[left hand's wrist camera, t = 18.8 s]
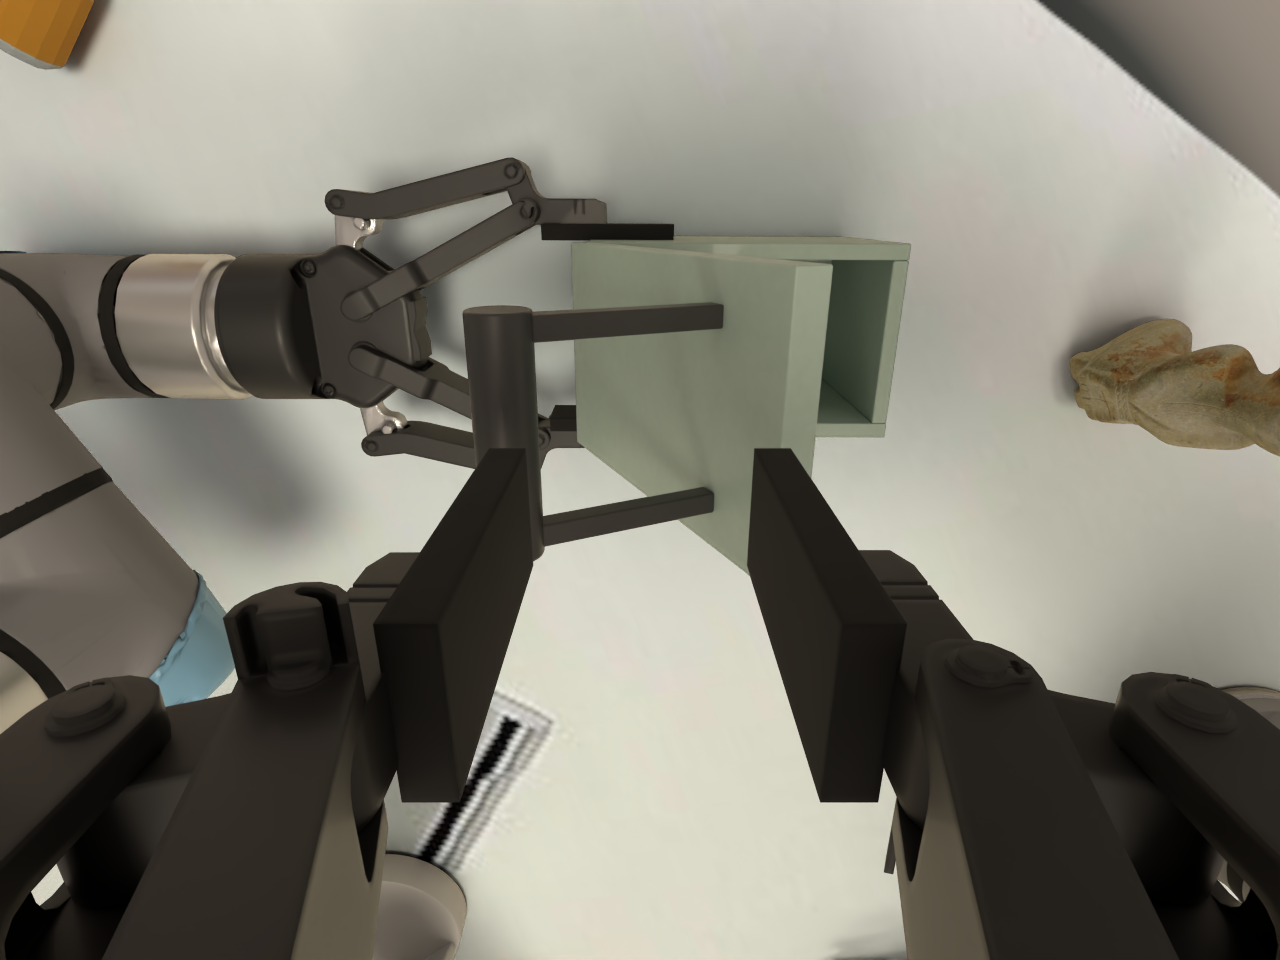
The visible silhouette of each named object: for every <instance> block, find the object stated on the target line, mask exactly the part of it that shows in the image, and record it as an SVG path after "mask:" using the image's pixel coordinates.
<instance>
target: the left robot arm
mask: <svg viewBox="0 0 1280 960" xmlns="http://www.w3.org/2000/svg"><path fill="white" fill-rule="evenodd" d="M532 567H533V555H532V539H531V523H530V507H529V492H528V476H527V460H526V448H489V449H488V451H487V452H486V454H485V455H484V457H483V458H482V460H481V461H480V463H479V464H478V466H477V467H476V469H475V470H474V472H473V473H472V475H471V476H470V478H469V479H468V481H467V482H466V484H465V486H464V487H463V489H462V490H461V492H460V493H459V495H458V496H457V498H456V499H455V501H454V502H453V504H452V505H451V507H450V508H449V510H448V511H447V513H446V514H445V516H444V517H443V519H442V520H441V522H440V523H439V525H438V526H437V528H436V529H435V531H434V532H433V534H432V535H431V537H430V538H429V540H428V541H427V543H426V544H425V546H424V547H423V549H422V550H421V552H420V553H389V554H387V555H386V556H384V557H382V558H381V559H379V560H377V561H376V562H374V563H373V564H371V565H369V566H368V567H366V568H365V570H364V571H363V572H362V574H361V575H360V576H359V577H358V579H357V580H356V581H355V582H354V584H353V588H350V589H349V590H348V591H347V592H346V591H344V590H343V589H342V588H340V587H339V586H337V585H332V584H328V583H323V582H299V583H294V584H289V585H284V586H278V587H275V588H272V589H269V590H266V591H263V592H260V593H258V594H255V595H253V596H251V597H249V598H247V599H246V600H244V601H242V602H240V603H239V604H237V605H235V606H234V607H233V608H232V609H231V610H230V611H229V612H228V613H227V614H226V615H225V616H224V617H223V621H224V625H225V629H226V633H227V637H228V641H229V645H230V649H231V653H232V657H233V661H234V665H235V669H236V673H237V677H238V681H237V683H236V685H235V687H234V689H233V691H232V693H230V694H226V695H222V696H218V697H213V698H208V699H203V700H198V701H192V702H187V703H182V704H177V705H172V706H167V707H165V704H164V701H163V697H162V694H161V691H160V688H159V685H157V684H156V683H155V682H153V681H152V680H151V679H149V678H146V677H139V676H132V675H127V676H118V677H109V678H108V677H107V678H101V679H96V680H93V681H92V682H89V681H88V682H85V683H82V684H79V685H76V686H74V687H72V688H70V689H69V690H67V691H65V692H62V693H60V694H58V695H56V696H53V697H51V698H49V699H48V700H46V701H45V702H43V703H41V704H40V705H38V706H37V707H35V708H34V709H32V710H31V711H29V712H28V713H26V714H25V715H24V716H22V717H21V718H20V719H19V720H17V721H16V722H15V723H14V724H12V725H11V726H10V727H9V728H7V729H6V730H5V731H4V732H2V733H1V734H0V960H372V959H373V951H374V942H375V934H376V926H377V917H378V909H379V901H380V893H381V884H382V876H383V868H384V860H385V851H386V843H387V835H388V823H387V816H386V810H385V804H384V797H385V795H386V793H387V790H388V788H389V786H390V784H391V781H392V779H393V777H394V775H395V772H396V770H397V775H398V781H399V787H400V794H401V800H402V802H460V800H461V796H462V793H463V790H464V787H465V784H466V780H467V777H468V774H469V771H470V767H471V764H472V761H473V758H474V754H475V751H476V748H477V745H478V742H479V738H480V735H481V732H482V729H483V725H484V722H485V719H486V716H487V713H488V709H489V706H490V703H491V700H492V696H493V693H494V690H495V687H496V684H497V680H498V677H499V674H500V671H501V667H502V664H503V661H504V658H505V655H506V651H507V648H508V645H509V642H510V638H511V635H512V632H513V629H514V625H515V622H516V619H517V616H518V613H519V609H520V606H521V603H522V600H523V596H524V593H525V590H526V587H527V584H528V580H529V577H530V574H531V571H532ZM747 567H748V571H749V574H750V577H751V580H752V584H753V587H754V590H755V593H756V596H757V600H758V603H759V606H760V609H761V613H762V616H763V619H764V622H765V625H766V629H767V632H768V635H769V638H770V642H771V645H772V648H773V651H774V655H775V658H776V661H777V664H778V667H779V671H780V674H781V677H782V680H783V684H784V687H785V690H786V693H787V696H788V700H789V703H790V706H791V709H792V713H793V716H794V719H795V722H796V725H797V729H798V732H799V735H800V738H801V742H802V745H803V748H804V751H805V754H806V758H807V761H808V764H809V767H810V771H811V774H812V777H813V780H814V784H815V787H816V790H817V793H818V796H819V800H820V802H878V800H879V794H880V787H881V781H882V775H883V769H885V771H886V774H887V776H888V778H889V780H890V782H891V785H892V787H893V789H894V791H895V794H896V796H897V798H896V804H895V810H894V815H893V821H892V827H891V832H890V838H889V844H888V850H887V855H886V862H885V868H884V872H885V873H890V874H893V872H894V867H895V862H896V866H897V874H898V883H899V891H900V899H901V907H902V916H903V924H904V932H905V940H906V949H907V957H908V960H1280V692H1277V691H1274V690H1270V689H1265V688H1257V687H1237V688H1228V689H1223V690H1219V689H1217V688H1215V687H1213V686H1211V685H1210V684H1208V683H1206V682H1203V681H1200V680H1197V679H1194V678H1192V679H1189V677H1186V676H1181V675H1176V674H1164V673H1155V672H1148V673H1141V674H1134V675H1131V676H1130V677H1129V678H1127V679H1126V680H1125V681H1123V682H1122V684H1121V688H1120V691H1119V694H1118V697H1117V701H1116V704H1114V703H1108V702H1103V701H1098V700H1093V699H1088V698H1083V697H1078V696H1073V695H1068V694H1063V693H1059V692H1055V691H1051V690H1047V688H1046V686H1045V684H1044V682H1043V680H1042V678H1041V677H1040V676H1039V674H1038V673H1037V672H1036V671H1035V669H1034V668H1033V667H1032V666H1031V665H1030V664H1029V663H1027V662H1026V661H1024V660H1023V659H1021V658H1020V657H1018V656H1017V655H1015V654H1014V653H1012V652H1010V651H1007V650H1005V649H1002V648H1000V647H998V646H995V645H993V644H989V643H985V642H980V641H976V640H973V639H972V637H971V636H970V635H969V634H968V632H967V631H966V630H965V629H964V627H963V626H962V625H961V623H960V622H959V621H958V620H957V618H956V617H955V616H954V615H953V613H952V612H951V611H950V610H949V608H948V607H947V606H946V605H945V603H944V602H943V601H942V600H939V596H938V595H937V593H936V592H935V591H934V590H933V588H932V587H931V586H930V585H928V584H927V581H926V580H925V578H924V577H923V576H922V574H921V573H920V572H919V571H918V569H917V568H916V567H915V566H914V565H913V564H912V563H910V562H908V561H907V560H905V559H903V558H902V557H900V556H898V555H897V554H895V553H893V552H892V551H890V550H858V549H857V547H856V546H855V544H854V543H853V541H852V540H851V538H850V537H849V535H848V534H847V532H846V531H845V529H844V528H843V526H842V525H841V523H840V522H839V520H838V519H837V517H836V516H835V514H834V513H833V511H832V510H831V508H830V507H829V505H828V504H827V502H826V501H825V499H824V498H823V496H822V495H821V493H820V492H819V490H818V489H817V487H816V486H815V484H814V482H813V481H812V479H811V478H810V476H809V475H808V473H807V472H806V470H805V469H804V467H803V466H802V464H801V463H800V461H799V460H798V458H797V457H796V455H795V454H794V452H793V451H792V449H791V448H754V460H753V476H752V492H751V507H750V523H749V539H748V555H747ZM56 863H57V866H58V868H59V871H60V873H61V875H62V878H63V880H64V883H63V884H62V885H61V886H60V887H59V888H58V890H57V891H56V892H55V893H54V894H53V895H52V896H51V897H50V898H49V899H48V900H46V901H45V902H44V903H43V904H42V905H40V906H39V905H38V904H37V903H36V902H35V900H34V897H33V895H32V893H31V891H32V890H33V889H34V888H35V887H36V885H37V884H38V883H39V882H40V881H41V880H42V879H43V878H44V877H45V875H46V874H47V873H48V872H49V871H50V870H51V869H52V868H53V867H54V866H55V864H56ZM1217 879H1218V880H1219V881H1221V882H1222V883H1223V884H1225V885H1226V886H1227V887H1228V888H1229V889H1230V890H1231V891H1232V892H1233V893H1234V894H1235V895H1236V896H1237V897H1238V899H1239V900H1240V901H1241V902H1242V903H1240V902H1239V901H1237V900H1236V899H1235V898H1234V897H1233V896H1232V895H1231V894H1230V893H1229V892H1228V891H1227V890H1226V889H1225V888H1224V887H1223V885H1222V884H1221V883H1220V882H1219V881H1218V880H1217Z"/></svg>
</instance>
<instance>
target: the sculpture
mask: <svg viewBox="0 0 1280 960" xmlns="http://www.w3.org/2000/svg"><path fill="white" fill-rule="evenodd" d="M1191 347H1192V333H1191V331H1190V329H1189V328H1188V327H1187V326H1186V325H1185V324H1183V323H1182V322H1180V321H1178V320H1175V319H1160V320H1155V321H1150V322H1147V323H1144V324H1142V325H1139V326H1137V327H1135V328H1133V329H1131V330H1129V331H1127V332H1125V333H1123V334H1122V335H1120V336H1118V337H1116V338H1114V339H1113V340H1111V341H1110V342H1108V343H1107V344H1105V345H1103V346H1101V347H1099V348H1097V349H1095V350H1092V351H1089V352H1080V353H1078V354H1076V355H1074V356H1073V357H1072V358H1071V359H1070V372H1071V376H1072V378H1074V379H1075V380H1076V381H1077V382H1078V384H1079V387H1078V388H1077V389H1076V390H1075V391H1074V395H1075V398H1076V401H1077V404H1078V406H1079V407H1080V408H1083V409H1085V411H1086V413H1087V415H1088V417H1089V418H1091V419H1093V420H1098V421H1100V422H1107V423H1118V424H1136V425H1139V426H1141V427H1142V428H1144V429H1145V430H1147V431H1148V432H1150V433H1151V434H1152V435H1154V436H1155V437H1157V438H1158V439H1159V440H1161V441H1163V442H1165V443H1167V444H1170V445H1174V446H1181V447H1192V448H1204V449H1220V450H1236V449H1241V448H1245V447H1248V446H1250V445H1252V444H1254V443H1255V444H1257V445H1258V446H1260V447H1261V448H1263V449H1265V450H1267V451H1269V452H1271V453H1273V454H1275V455H1278V456H1280V368H1279V369H1278V370H1277V371H1275V372H1274V373H1272V374H1267V375H1266V374H1262V373H1261V372H1260V371H1259V370H1258V368H1257V366H1256V364H1255V362H1254V359H1253V357H1252V355H1251V354H1250V353H1249V351H1248V350H1246V349H1245V348H1243V347H1241V346H1238V345H1231V344H1230V345H1219V346H1213V347H1208V348H1204V349H1201V350H1197V351H1194V352H1191Z"/></svg>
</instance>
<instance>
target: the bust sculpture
mask: <svg viewBox="0 0 1280 960" xmlns="http://www.w3.org/2000/svg"><path fill="white" fill-rule="evenodd" d="M466 913H467V908H466V902H465V898H464V896H463V893H462V891H461V890H460V888H459V887H458V885H457V884H456V883H455V882H454V880H453V879H452V878H451V877H449V876H448V875H447V874H446V873H445V872H443V871H442V870H440V869H439V868H437V867H435V866H433V865H432V864H429V863H427V862H425V861H422V860H419V859H416V858H413V857H409V856H403V855H395V854H385V860H384V868H383V876H382V884H381V893H380V901H379V909H378V917H377V926H376V934H375V942H374V951H373V959H372V960H454V956H455V954H456V952H457V950H458V947H459V943H460V939H461V935H462V931H463V927H464V923H465V919H466Z"/></svg>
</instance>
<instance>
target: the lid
mask: <svg viewBox="0 0 1280 960" xmlns="http://www.w3.org/2000/svg"><path fill="white" fill-rule="evenodd" d="M571 249H572V283H573V310H560V311H542V312H532V310H531V309H529V308H527V307H521V306H481V307H473V308H468V309H466V310H464V311H463V324H464V336H465V347H466V358H467V370H468V381H469V393H470V404H471V415H472V427H473V438H474V449H475V461H476V467H477V466H478V464H479V463H480V461H481V460H482V458H483V457H484V455H485V454H486V452H487V451H488V449H489V448H526V460H527V476H528V492H529V507H530V523H531V539H532V555H533V561H535V560H537V559H538V558H540V557H541V556H542V554H543V552H544V546H549V545H554V544H559V543H564V542H569V541H574V540H579V539H584V538H589V537H594V536H599V535H603V534H608V533H613V532H618V531H623V530H628V529H633V528H638V527H643V526H648V525H653V524H658V523H662V522H667V521H672V520H679V521H680V522H681V523H683V524H684V525H685V526H686V527H688V528H689V529H690V530H692V531H693V532H694V533H695V534H697V535H698V536H699V537H701V538H702V539H703V540H704V541H706V542H707V543H708V544H710V545H711V546H712V547H713V548H715V549H716V550H717V551H719V552H720V553H721V554H722V555H724V556H725V557H726V558H728V559H729V560H730V561H731V562H733V563H734V564H735V565H737V566H738V567H739V568H740V569H742V570H743V571H744V572H746V573H747V574H748V575H749V576H750V574H749V571H748V567H747V555H748V539H749V523H750V507H751V492H752V476H753V460H754V448H791V449H792V451H793V452H794V454H795V455H796V457H797V458H798V460H799V461H800V463H801V464H802V466H803V467H804V469H805V470H806V472H807V473H808V475H809V476H810V478H811V476H812V466H813V456H814V446H815V437H816V427H817V417H818V408H819V398H820V388H821V378H822V369H823V359H824V349H825V340H826V330H827V320H828V310H829V301H830V291H831V281H832V272H833V265H831V264H824V263H813V262H802V261H791V260H780V259H769V258H758V257H747V256H736V255H725V254H715V253H704V252H693V251H682V250H671V249H660V248H649V247H638V246H627V245H616V244H606V243H572V244H571ZM563 340H574V350H575V383H576V416H577V442H578V443H580V444H581V445H582V446H584V447H585V448H586V449H587V450H589V451H590V452H591V453H593V454H594V455H595V456H596V457H598V458H599V459H600V460H602V461H603V462H604V463H605V464H607V465H608V466H609V467H611V468H612V469H613V470H614V471H616V472H617V473H618V474H620V475H621V476H622V477H623V478H625V479H626V480H627V481H629V482H630V483H631V484H632V485H634V486H635V487H636V488H638V489H639V490H640V491H641V492H643V493H644V494H645V495H647V496H648V497H645V498H639V499H634V500H629V501H623V502H618V503H612V504H607V505H601V506H596V507H591V508H585V509H580V510H574V511H569V512H563V513H558V514H553V515H547V516H543V509H542V489H541V470H540V450H539V431H538V411H537V392H536V373H535V353H534V343H536V342H549V341H563Z"/></svg>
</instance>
